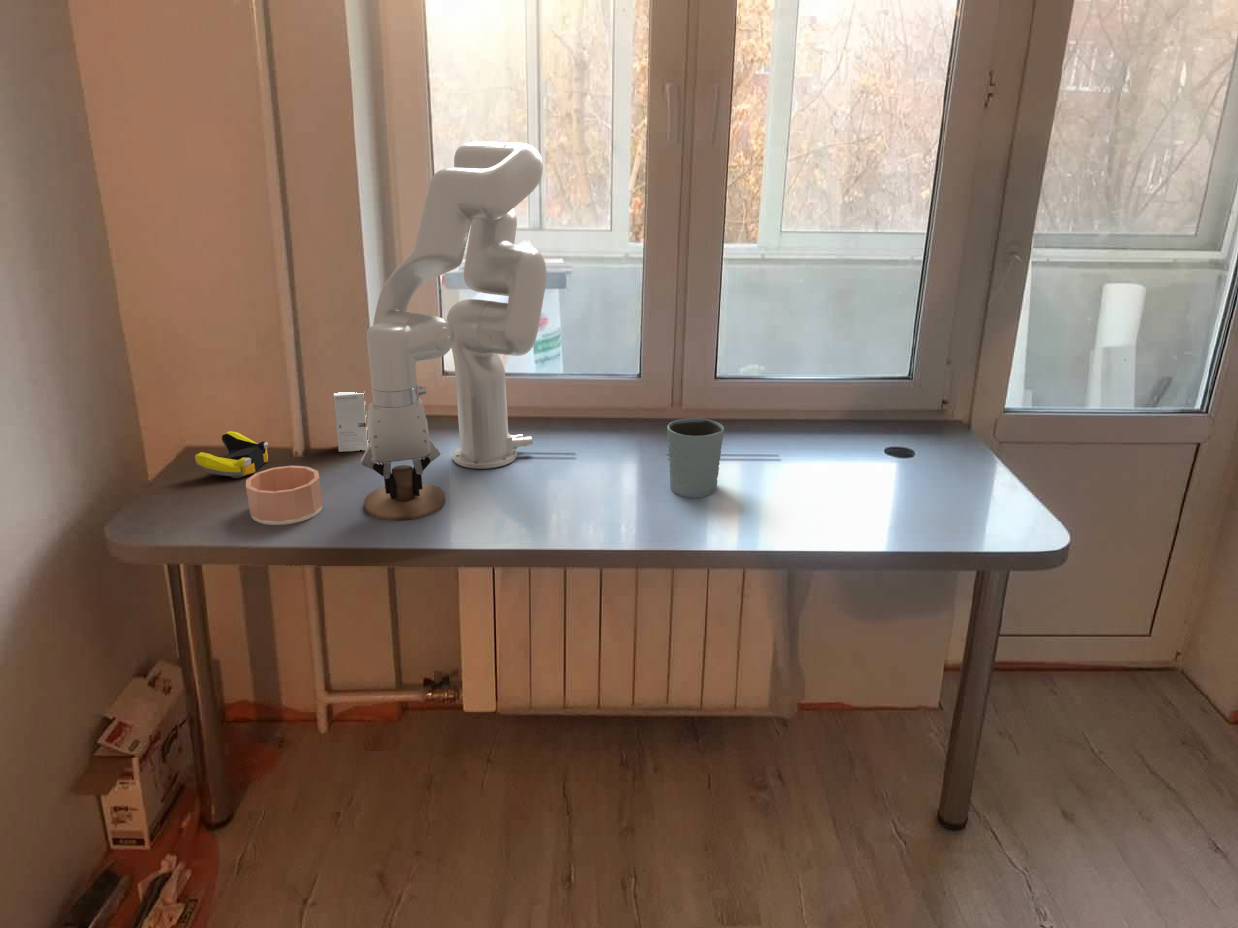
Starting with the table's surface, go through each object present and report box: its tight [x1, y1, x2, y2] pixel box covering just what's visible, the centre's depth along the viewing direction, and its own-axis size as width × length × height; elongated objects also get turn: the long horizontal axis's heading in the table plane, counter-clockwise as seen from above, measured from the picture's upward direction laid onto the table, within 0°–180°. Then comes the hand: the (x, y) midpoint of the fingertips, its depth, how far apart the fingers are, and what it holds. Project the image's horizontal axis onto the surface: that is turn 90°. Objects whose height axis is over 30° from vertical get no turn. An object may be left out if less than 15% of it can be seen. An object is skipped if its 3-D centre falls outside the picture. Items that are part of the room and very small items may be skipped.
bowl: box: [245, 465, 324, 526], centre depth 168 cm, size 12×12×6 cm
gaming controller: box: [194, 430, 269, 479], centre depth 187 cm, size 15×6×10 cm
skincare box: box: [332, 392, 369, 453], centre depth 196 cm, size 6×4×12 cm
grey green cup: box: [666, 417, 725, 498], centre depth 176 cm, size 10×10×12 cm
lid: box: [363, 464, 446, 522], centre depth 171 cm, size 14×14×7 cm
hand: (404, 494), depth 171 cm, fingers closed on lid, 3 cm apart
